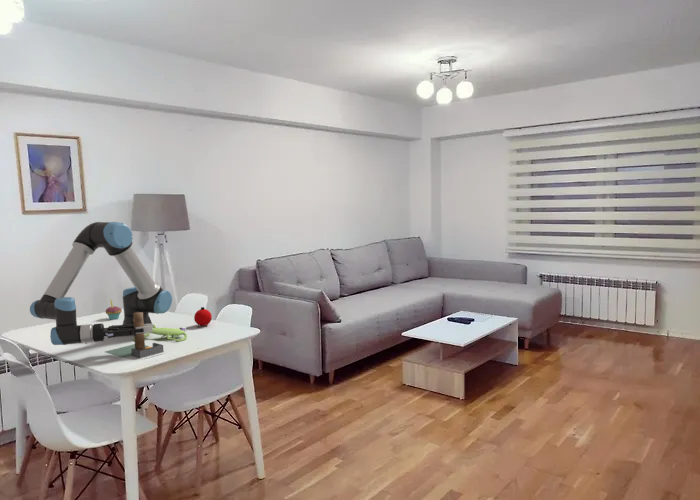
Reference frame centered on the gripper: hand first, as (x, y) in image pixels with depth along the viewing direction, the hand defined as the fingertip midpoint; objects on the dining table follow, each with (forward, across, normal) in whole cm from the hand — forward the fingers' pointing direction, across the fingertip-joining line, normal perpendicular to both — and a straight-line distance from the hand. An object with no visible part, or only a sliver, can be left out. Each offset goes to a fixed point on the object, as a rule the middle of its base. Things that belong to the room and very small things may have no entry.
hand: (152, 327), depth 221 cm
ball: (-2, +4, -9) cm, 10 cm away
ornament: (+23, -44, -11) cm, 51 cm away
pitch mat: (-10, -5, -11) cm, 16 cm away
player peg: (-5, 0, -9) cm, 11 cm away
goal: (-2, +4, -11) cm, 12 cm away
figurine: (+2, -26, -12) cm, 29 cm away
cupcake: (-26, -82, -11) cm, 87 cm away
